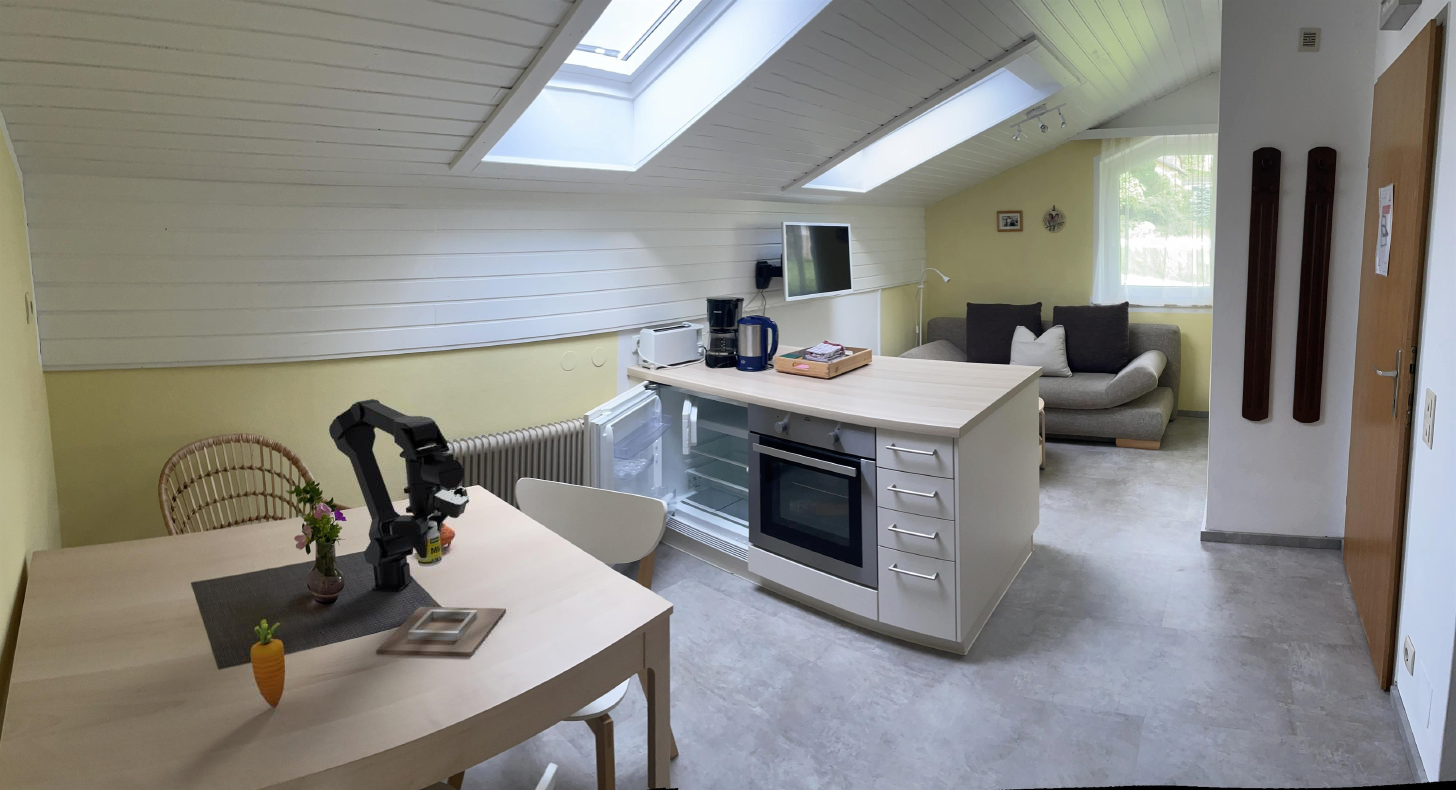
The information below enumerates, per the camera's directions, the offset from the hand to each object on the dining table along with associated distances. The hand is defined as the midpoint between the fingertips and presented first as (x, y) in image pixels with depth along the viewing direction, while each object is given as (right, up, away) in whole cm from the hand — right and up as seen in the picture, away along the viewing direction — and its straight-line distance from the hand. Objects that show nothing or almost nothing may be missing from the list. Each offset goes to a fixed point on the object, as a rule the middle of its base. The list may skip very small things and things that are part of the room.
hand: (429, 553), depth 174 cm
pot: (-9, -5, +33) cm, 34 cm away
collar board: (+7, -13, -11) cm, 19 cm away
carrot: (-12, -19, -36) cm, 42 cm away
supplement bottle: (0, -2, +1) cm, 2 cm away
